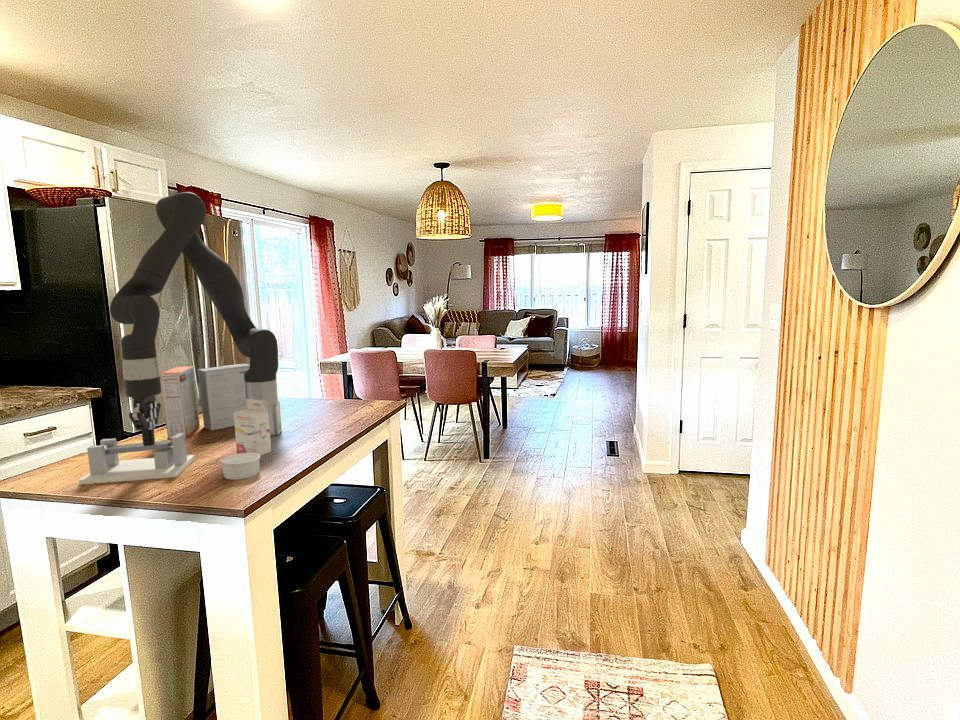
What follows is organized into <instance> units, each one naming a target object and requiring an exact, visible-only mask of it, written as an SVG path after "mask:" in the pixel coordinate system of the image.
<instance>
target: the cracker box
mask: <svg viewBox="0 0 960 720" xmlns="http://www.w3.org/2000/svg"><path fill="white" fill-rule="evenodd" d="M160 383H161V393H162V401H163V408H164V409H163V410H164V415H165V416H164V418H165V425H166V432H167V433H166V436H167V440H170V438H171V437H172V436H174V435H177V434H178V433H185V439H188V438H189V437H190V436H191V435H192V434H194V432H196V431H197V430H198V429H199V428H200V427H201V425H200V415H199V405H198V399H197V390H196V379H195V370H194V366H193V365H192V366H191V365H190V366H188V365H187V366H175V367H173V368H170V369H169V370H166V371H164V372H162V373H160Z"/></svg>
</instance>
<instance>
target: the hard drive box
mask: <svg viewBox="0 0 960 720" xmlns="http://www.w3.org/2000/svg"><path fill="white" fill-rule="evenodd" d="M249 367H250V364H248V363H238V364H230V365H222V366H215V367H206V368H198V369H197V375H198V386H199V394H200V403H201V411H202V421H203V427H204V428H205V429H206V430H208V431H210V432H211V431H216V430H217V431H218V430H220V429H221V430H223V429H226V428H227V429H228V428H230V427H235V423H234V412H238V411H242V410H246V409H247V406H246V394H245V381H244V373H245V372H246V371H247V370H249Z"/></svg>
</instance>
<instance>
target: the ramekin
mask: <svg viewBox="0 0 960 720" xmlns="http://www.w3.org/2000/svg"><path fill="white" fill-rule="evenodd" d="M260 460H261V456H260V455H259V454H257V453H234V454H231V455H228V456H225V457H222V458H221V459H220V464H221V467H222V472H223V473H222V474H223V477H224V478H225V479H227V480H233V481H235V480H236V481H237V480H245V479H249V478H252V477H254V476H256V475H258V474H259V472H260Z"/></svg>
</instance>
